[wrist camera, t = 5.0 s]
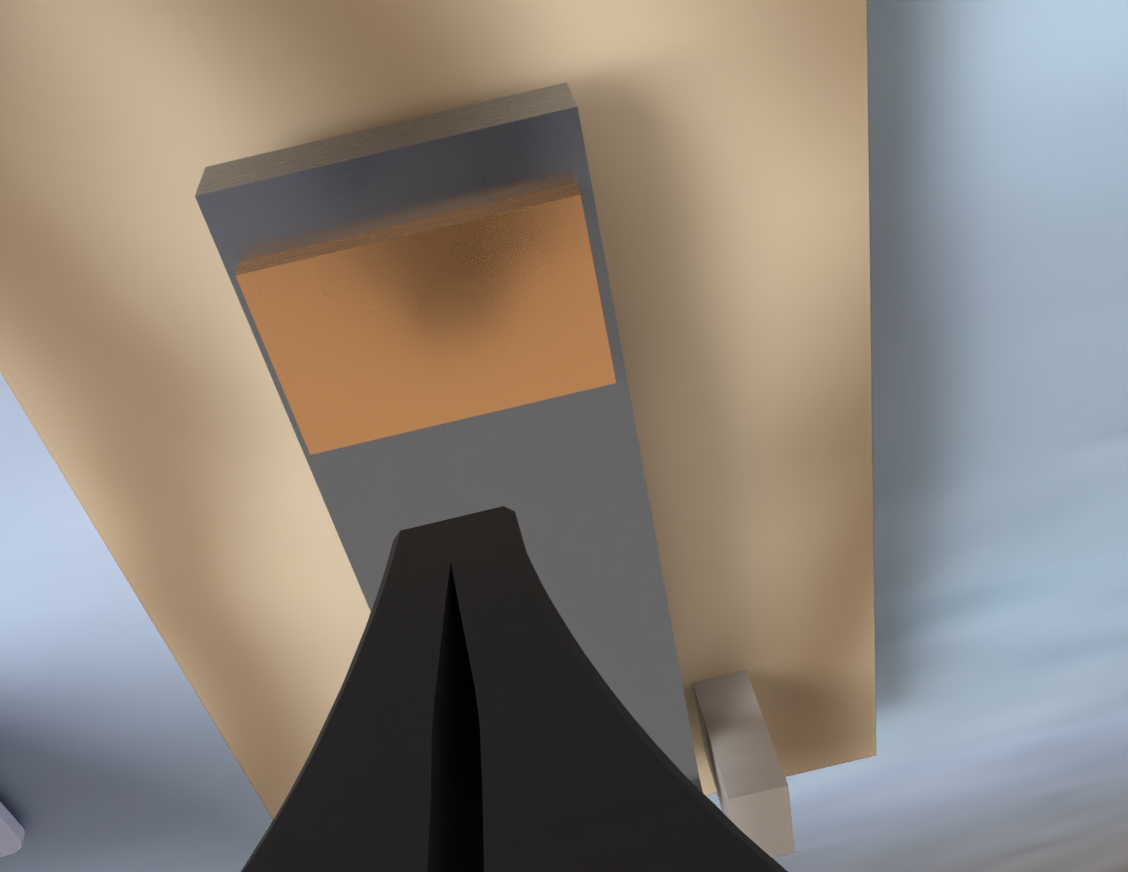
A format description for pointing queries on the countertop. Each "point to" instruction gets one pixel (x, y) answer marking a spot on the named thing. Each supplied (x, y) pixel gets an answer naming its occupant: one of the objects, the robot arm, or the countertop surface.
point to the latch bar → (461, 359)
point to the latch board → (640, 297)
